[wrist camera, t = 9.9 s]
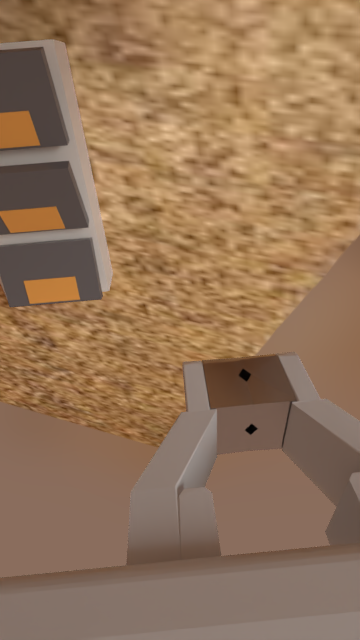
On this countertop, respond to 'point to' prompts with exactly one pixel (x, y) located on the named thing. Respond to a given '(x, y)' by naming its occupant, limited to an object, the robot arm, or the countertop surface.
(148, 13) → the countertop surface
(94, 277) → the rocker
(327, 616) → the robot arm
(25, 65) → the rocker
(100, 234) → the rocker switch box
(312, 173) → the countertop surface
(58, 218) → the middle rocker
